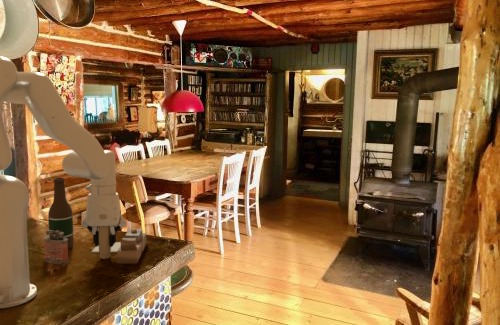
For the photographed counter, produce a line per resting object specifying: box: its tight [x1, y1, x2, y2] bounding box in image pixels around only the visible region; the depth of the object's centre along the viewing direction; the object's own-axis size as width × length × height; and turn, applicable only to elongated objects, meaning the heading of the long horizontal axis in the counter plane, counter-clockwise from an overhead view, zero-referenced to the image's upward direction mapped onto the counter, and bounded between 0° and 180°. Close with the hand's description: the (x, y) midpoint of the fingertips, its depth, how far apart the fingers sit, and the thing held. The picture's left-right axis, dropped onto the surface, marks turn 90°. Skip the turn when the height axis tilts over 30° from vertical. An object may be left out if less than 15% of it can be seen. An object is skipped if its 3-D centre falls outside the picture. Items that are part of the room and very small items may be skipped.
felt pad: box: [91, 241, 121, 254], centre depth 144 cm, size 9×9×1 cm
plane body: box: [116, 228, 147, 264], centre depth 139 cm, size 18×6×7 cm, turn 5°
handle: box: [98, 215, 111, 260], centre depth 134 cm, size 5×6×15 cm
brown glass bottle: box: [47, 177, 74, 250], centre depth 142 cm, size 8×8×24 cm
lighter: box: [43, 229, 70, 265], centre depth 130 cm, size 8×3×10 cm, turn 74°
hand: (104, 244), depth 134 cm, fingers closed on handle, 4 cm apart
